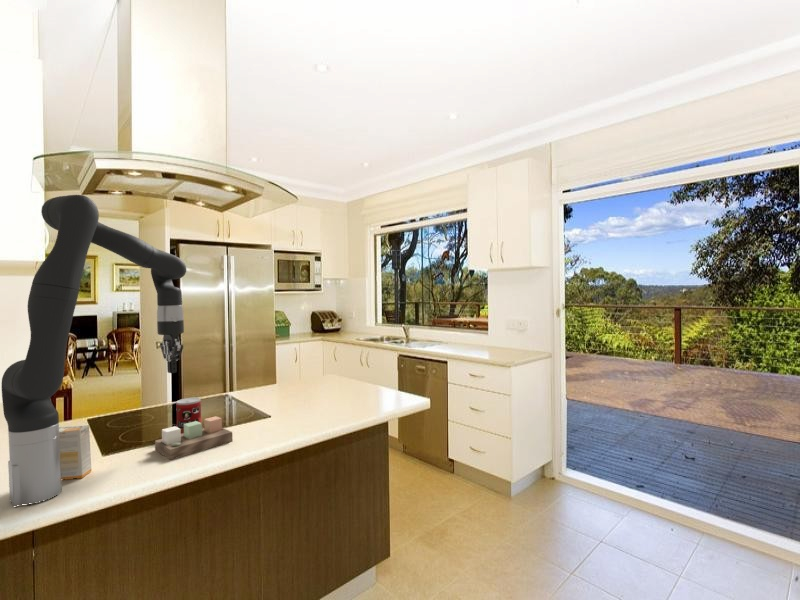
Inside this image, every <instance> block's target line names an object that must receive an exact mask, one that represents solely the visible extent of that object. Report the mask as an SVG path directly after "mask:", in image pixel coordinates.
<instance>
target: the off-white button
mask: <svg viewBox="0 0 800 600" xmlns="http://www.w3.org/2000/svg"><path fill="white" fill-rule="evenodd" d="M161 439H162V443H164V444H166V445H169V444H173V443H176V442H180V441H181V429H180V428H178V427H177V425H176V426H175V425H174V426H170V427H166V428H162V429H161Z"/></svg>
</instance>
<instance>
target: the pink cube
mask: <svg viewBox="0 0 800 600" xmlns="http://www.w3.org/2000/svg"><path fill="white" fill-rule="evenodd" d="M203 422H204V423H203V424H204V425H203V426H204V427H203V428H204V431H205V432H208V433H213V432H217V431H220V430H222V428H223V420H222V417H219V416H216V415H215V416H212V417H208V418H207V417H206V418H204V419H203Z"/></svg>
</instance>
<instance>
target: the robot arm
mask: <svg viewBox="0 0 800 600" xmlns="http://www.w3.org/2000/svg"><path fill="white" fill-rule="evenodd" d="M40 213H41V216H42V218H43V220H44V222H45V223H46V225H47V226H49V227H50V228H52V229H54V230H56V231H57V235H56V239H55V243H54V245H53V247H52V249H51V250H50V252H49V253H48V255H47V256H46V258H45V259H44V261H43V262H42V263H41V265H40V266H39V267H38V269H37V271H36V272H35V274H34V275H33V276H34V277H33V279H32V282H31V285H30V286H31V287H30V290H29V295H28V297H27V298H28V299H27V315H28V322H29V323H28V324H29V329H30V330H29V331H30V339H29V345H28V348H27V349H28V350H27V352H26V356H25V359H22V360H18V361H15V362H14V363H12V364H10V366H8V367H7V368H6V370H5V371H4V373H3V375H2V378H1V400H2V408H3V417H4V419H5V421H6V424H7V431H8V433H7V434H8V454H9V460H8V462H7V463H8V464H7V466H8V487H9V490H8V491H9V501H10V500H11V501H10V502H12V503H11V505H12V504H13V505H12V507H13V506H17V505H22V504H29V503H35V502H39V501H43V500H46V499H48V500H50V499H49V498H51V499H53V498H54V496H55V497H56V495H57V496H58V495H59V494H60V493H62V490H63V486H62V482H63V480H61V459H60V436H59V427H60V419H59V417H60V415H59V412H58V410H57V409H56V408H55V406H54V404H53V401H52V398H51V397H53V395H55V394H56V393H57V392H58V390H59V389H60V388H61V386H62V383H63V381H64V377H65V376H64V375H65V365H66V357H67V355H66V353H67V345H68V339H69V335H70V331H71V327H72V322H73V318H74V314H75V309H76V307H77V302H78V297H79V293H80V287H81V281H82V279H83V273H84V270H85V265H86V260H87V256H88V255H87V254H88V253H89V252H88V251H89V249H90V246H91V243H92V244H94V245H97V246H98V247H101V248H103V249H106V250H108V251H110V252H112V253H114V254H116V255H118V256H120V257H121V258H123V259H126V260H127V261H130V262H132V263H133V264H135V265H137V266H139V267H141V268H144V269H145V268H146V269H150V275H151V279H152V282H153V285H154V288H155V291H156V293H157V295H156V298H157V299H156V301H157V302H156V303H157V309H156V322H157V323H156V327H157V329H156V330H157V335H160V336H163V337H162V342H160V343H159V347H160V349H161V353H162V357H163V359H164V360H165V361H166V363H167V364H166V366H167V367H166V368H167V373H168V374H175V373H177V372H178V369H177V368H178V366H177V365H178V364H177V362H178V360H181V357H182V352H183V349H184V345H183V344H181V341H180V336H179V335H181V334H184V332H185V325H184V324H185V323H184V319H185V318H184V308H183V295H182V290H181V288H179V287H177V286H175V285H174V283H173V280H179V279H182V278H183V277H184V276H185V275H186V273H187V265H186V264H185V262H184V261H183V259H181V258H180V257H178V256H176V255H174V254H172V253H169V252H167V251H164V250H161V249H159V248H156V247H154V246H153V245H151V244H149V243H147V242H146V241H144V240H142V239H140V238H139V237H137V236H134V235H133V234H130V233H126V232H124V231H121V230H118V229H116V228H113V227H110V226H107V225H105V224H103V223H101V222H99V220H100V219H99V217H100V216H99V215H100V214H99V209H98V206H97V204H96V203H95V202H94V200H92V199H91V198H90V197H88V196H85V195H83V194H69V195H61V196H55V197H52V198H49V199H47V200H46V201H44V203H43V205H42V206H41V212H40ZM52 497H53V498H52ZM46 501H47V500H46ZM43 502H44V501H43ZM39 503H40V502H39Z"/></svg>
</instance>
